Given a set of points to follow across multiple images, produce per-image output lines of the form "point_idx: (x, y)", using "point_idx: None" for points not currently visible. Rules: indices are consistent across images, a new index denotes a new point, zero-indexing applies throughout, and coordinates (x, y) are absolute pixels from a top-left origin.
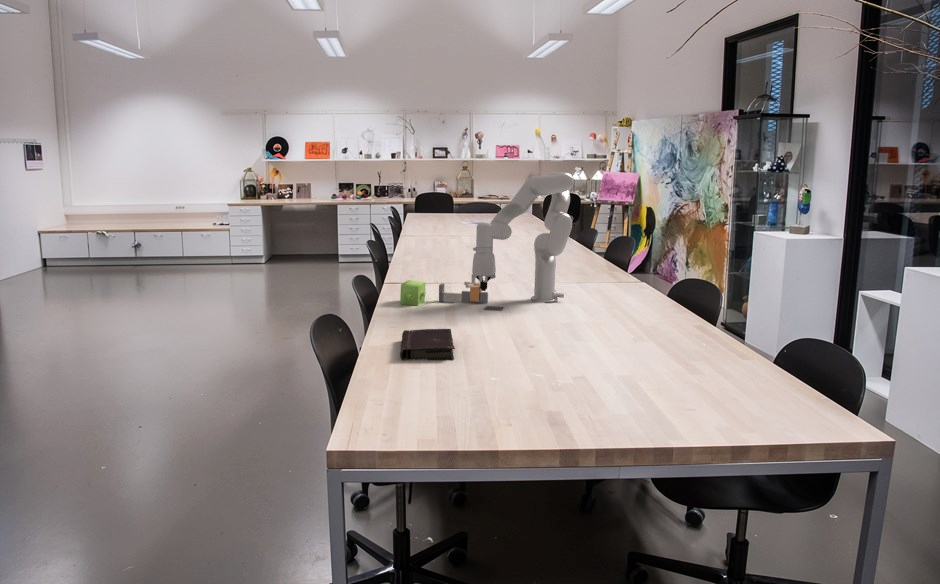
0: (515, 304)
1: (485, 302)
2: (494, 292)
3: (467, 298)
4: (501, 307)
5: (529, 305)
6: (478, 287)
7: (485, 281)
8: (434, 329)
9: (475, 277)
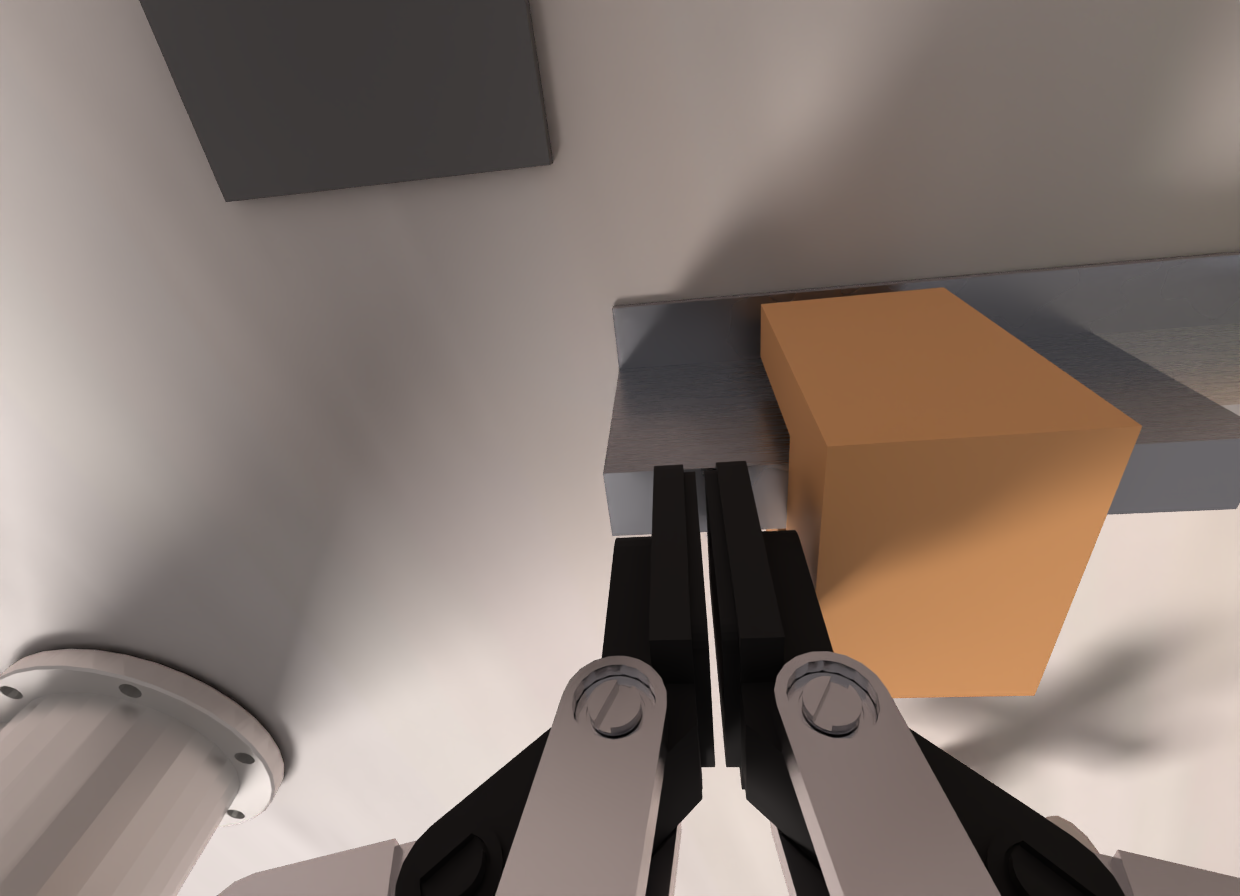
0: (260, 495)
1: (647, 376)
2: (720, 865)
3: None
4: (245, 136)
5: (81, 497)
6: (846, 498)
7: (629, 693)
8: None
9: (1164, 879)
